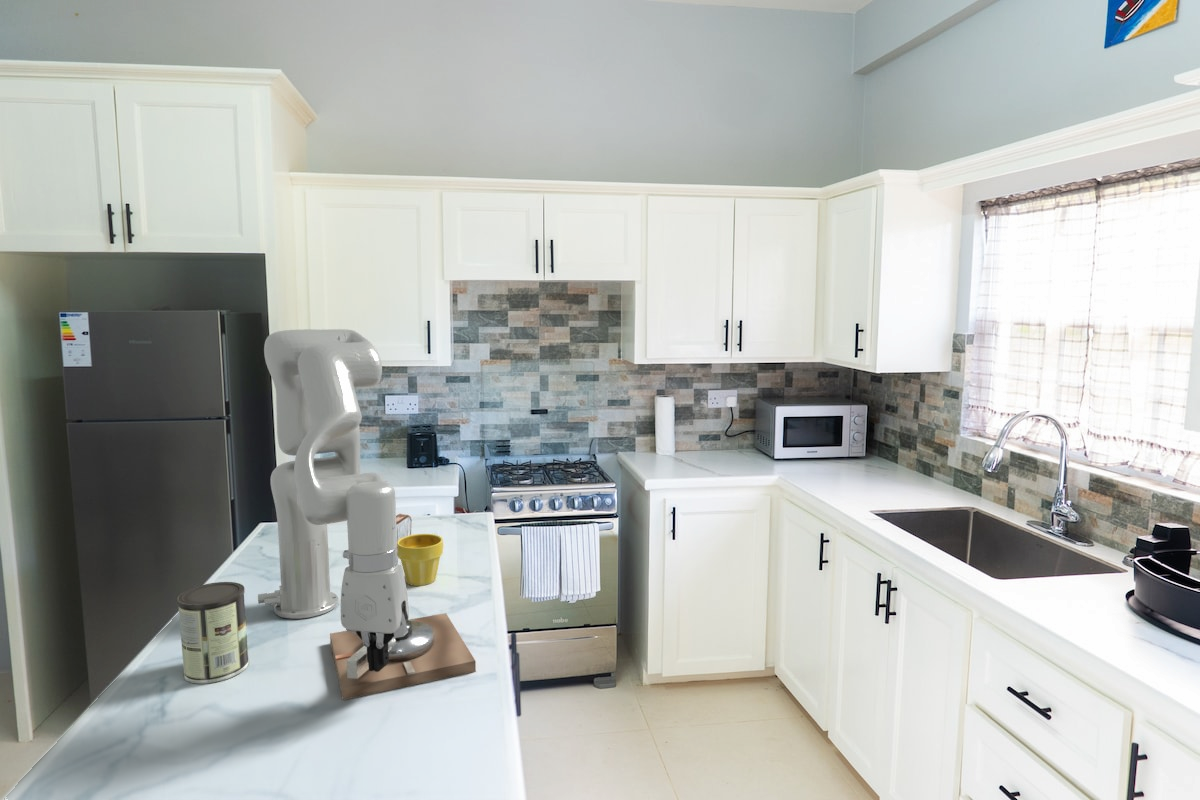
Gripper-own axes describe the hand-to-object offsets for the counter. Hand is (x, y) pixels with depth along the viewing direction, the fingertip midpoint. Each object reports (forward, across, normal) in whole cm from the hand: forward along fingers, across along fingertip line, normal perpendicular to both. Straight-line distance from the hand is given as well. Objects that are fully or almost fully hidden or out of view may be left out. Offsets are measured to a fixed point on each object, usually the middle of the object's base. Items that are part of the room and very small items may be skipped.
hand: (378, 667), depth 119 cm
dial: (+2, -3, +7) cm, 8 cm away
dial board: (+4, -3, +12) cm, 13 cm away
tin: (+4, -34, +66) cm, 75 cm away
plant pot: (+4, -17, +47) cm, 50 cm away
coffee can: (+4, -32, 0) cm, 32 cm away
